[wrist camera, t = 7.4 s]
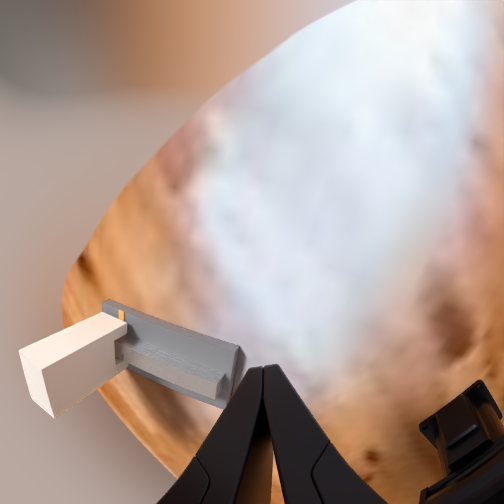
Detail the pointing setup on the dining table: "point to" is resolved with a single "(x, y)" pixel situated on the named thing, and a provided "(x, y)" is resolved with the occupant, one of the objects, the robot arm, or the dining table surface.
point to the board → (179, 348)
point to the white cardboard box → (73, 362)
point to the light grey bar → (170, 366)
